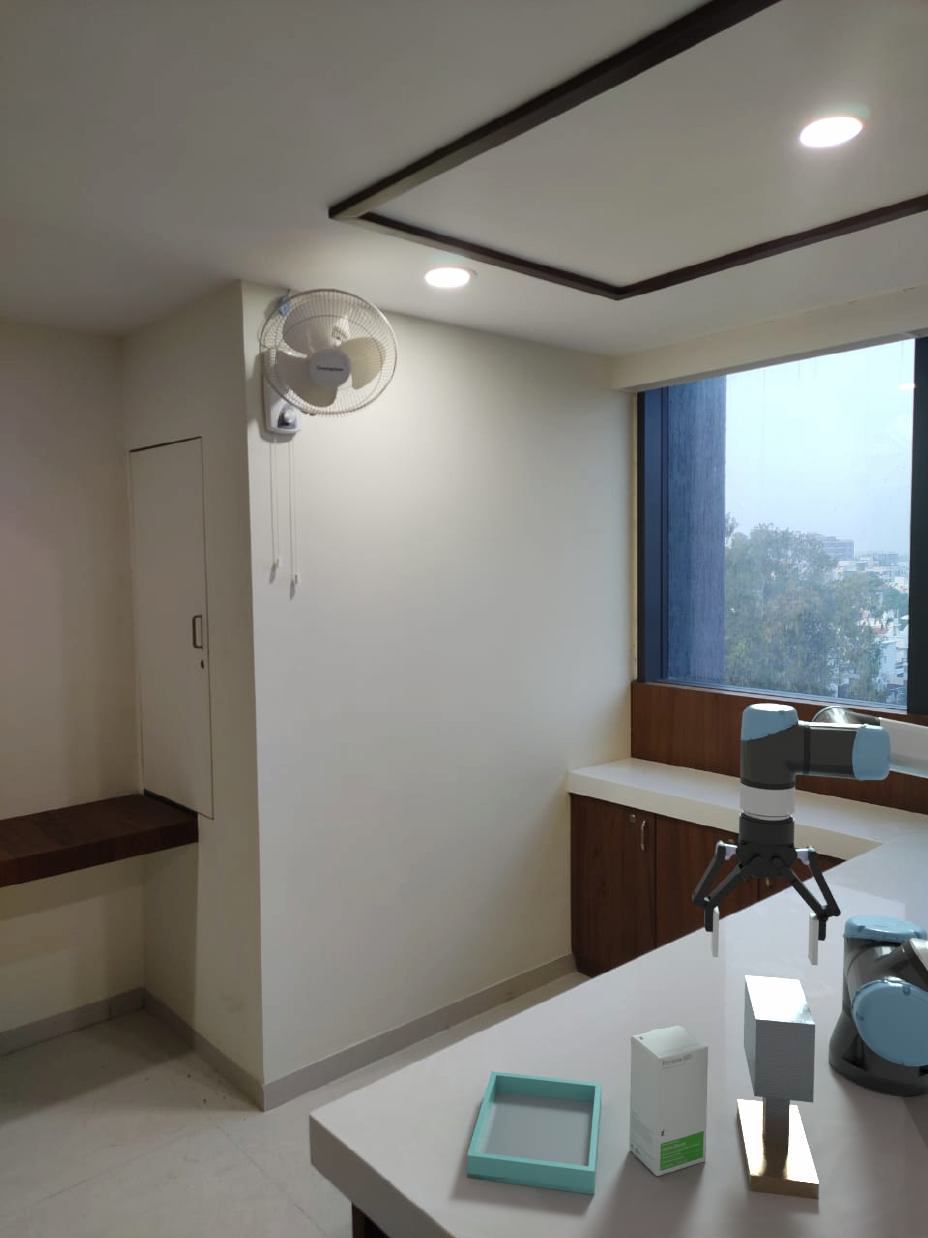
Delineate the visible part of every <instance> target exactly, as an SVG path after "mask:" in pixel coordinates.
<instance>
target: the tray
mask: <svg viewBox="0 0 928 1238" xmlns="http://www.w3.org/2000/svg"><path fill="white" fill-rule="evenodd" d="M601 1111H602V1083H601V1082H600V1083H599V1082H592V1081H583V1080H573V1079H564V1078H555V1077H554V1078H553V1077H546V1076H538V1075H527V1074H518V1073H510V1072H499V1071H491V1072H490V1076H489V1079H488V1083H487V1086H486V1089H485V1093H484V1097H483V1100H482V1103H481V1107H480V1111H479V1114H478V1116H477V1117H478V1118H477V1120H476V1123H475V1127H474V1131H473V1135H472V1138H471V1141H470V1144H469V1148H468V1151H467V1154H466V1174H467V1175H466V1176H467V1177H466V1178H467V1179H473V1180H474V1179H475V1180H481V1181H489V1182H498V1183H505V1184H512V1185H520V1186H526V1187H533V1188H540V1189H541V1188H542V1189H550V1190H555V1191H556V1190H557V1191H564V1192H571V1193H580V1194H586V1195H587V1194H588V1195H595V1190H596V1176H597V1166H598V1165H597V1164H598V1151H599V1150H598V1149H599V1138H600V1137H599V1136H600V1125H601V1114H602V1112H601Z"/></svg>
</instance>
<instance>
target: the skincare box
mask: <svg viewBox="0 0 928 1238" xmlns="http://www.w3.org/2000/svg"><path fill="white" fill-rule="evenodd" d="M630 1042H631V1043H630V1045H631V1049H630V1050H631V1051H630V1052H631V1053H630V1055H631V1056H630V1092H629V1093H630V1094H629V1095H630V1098H629V1100H630V1101H629V1102H630V1105H629V1106H630V1107H629V1140H628V1141H629V1143H628V1146H629V1150H630V1151H631V1152H632V1153H633V1154H634V1156H636V1157H637V1159H638V1160H639V1161H640V1162H642V1164H643V1165H645V1167H646V1168H648V1169H649V1170H650V1172H651V1173H652V1174H654V1176H656V1177H660V1176H664V1175H666V1174H670V1173H673V1172H676V1171H678V1170H682V1169H685V1168H688V1167H691V1166H694V1165H697V1164H701V1163H704V1162H706V1160H707V1114H708V1113H707V1109H708V1108H707V1106H708V1067H709V1066H708V1063H709V1062H708V1061H709V1058H708V1057H709V1056H708V1055H709V1053H708V1052H709V1045H707V1044H706V1043H705V1042H704V1041H703V1040H701V1039H699V1038H698V1037H696V1036H695V1035H693V1034H692V1033H690V1032H689V1031H687V1030H686V1029H685V1028H684V1027H683V1026H681V1025H675V1026H670V1027H666V1028H655V1029H652V1030H650V1031H648V1032H647V1031H646V1032H643V1033H638V1034H633V1035H631V1037H630Z"/></svg>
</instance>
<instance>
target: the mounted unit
mask: <svg viewBox="0 0 928 1238" xmlns="http://www.w3.org/2000/svg"><path fill="white" fill-rule="evenodd" d="M743 1014H744V1016H743V1021H744V1022H743V1048H744V1053H745V1057H746V1062H747V1066H748V1071H749V1076H750V1081H751V1086H752V1090H753V1091H752V1092H753V1096H754V1097H758V1098H762V1099H761V1100H762V1101H758V1100H747V1099H739V1098H738V1099H737V1102H736V1103H737V1105H736V1106H737V1107H736V1114H737V1120H738V1125H739V1132H740V1137H741V1143H742V1148H743V1155H744V1159H745V1167H746V1172H747V1173H746V1174H747V1177H748V1183H749V1189H750V1191H754V1192H761V1193H769V1194H775V1195H784V1196H792V1197H793V1196H794V1197H798V1198H799V1197H800V1198H808V1199H813V1200H814V1199H816V1200H819V1198H820V1197H819V1195H820V1191H819V1190H820V1189H819V1188H820V1184H819V1179H818V1176H817V1171H816V1168H815V1164H814V1161H813V1158H812V1154H811V1151H810V1147H809V1144H808V1141H807V1137H806V1133H805V1130H804V1125H803V1122H802V1120H801V1115H800V1113H799V1109H798V1106H797V1105H794V1104H791V1101H795V1102H805V1103H812V1104H813V1103H814V1093H815V1090H814V1089H815V1088H814V1087H815V1055H816V1054H815V1051H816V1050H815V1048H816V1047H815V1046H816V1023H815V1020H814V1018H813V1014H812V1012H811V1010H810V1007H809V1003H808V1001H807V999H806V997H805V993H804V990H803V988H802V985H801V982H800V979H791V978H781V977H780V978H779V977H767V976H756V975H744V1013H743Z"/></svg>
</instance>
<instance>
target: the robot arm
mask: <svg viewBox="0 0 928 1238" xmlns="http://www.w3.org/2000/svg"><path fill="white" fill-rule="evenodd" d="M741 718H742V719H741V729H740V731H741V732H740V733H741V734H740V782H739V783H740V785H739V786H740V788H739V808H740V810H741V812H740V813H739V814H738V815H739V816H738V822H739V823H738V841H737V843H736V845H735V844H727V843H725V842H724V841H723V840H717V842H715V843H716V844H715V849H714V855H713V857H712V859H711V860H710V862H709V864H708V866H707V868H706V869H705V870H704V873H703V875H702V876H701V878H700V880H699V881H698V883H697V885H696V887H695V889H694V891H693V892H692V895H691V898H692V905H693V906H695V907H699V908H702V909H703V910H704V911H703V913H704V914H703V916H704V917H703V925H704V930H705V932H706V933H711V945H710V946H711V947H710V948H711V953H712V957H713V958H718V957H719V940H720V939H719V938H720V937H719V932H720V931H719V928H720V911H719V907H718V906H719V905H720V904H721V903H722V902H723V901H724V900H725V899H726V898H727V897H728V896H729V895H730V894H731V893H732V892H733V891H734V890H735V889H736V888H737V887H738V886H739V885H740V884H741V883H742V882H743V881H745V880H746V879H747V878H748V877H749V876H752V877H754V879H763V878H768V879H771V880H778V879H780V878H781V877H784V879H786V881H787V882H788V883H789V884H790V886H791V887H793V889H794V890H795V891H796V893H797V894H798V895H799V896H800V897H801V899H803V901H804V902H805V903H806V905H808V906H809V908H810V909H811V910H812V912H809V920H808V922H809V923H808V924H809V927H808V959H809V961H810V964H811V966H818V964H819V963H818V961H819V959H818V958H819V956H818V955H819V941H822V942H823V941H825V940H826V937H827V922H828V921H829V918H831V917H840V916H841V914H842V912H841V911H842V910H841V909H840V907H839V904H838V903H837V901H836V899H835V897H834V895H833V893H832V891H831V888H830V887H829V884H828V883H827V881H826V879H825V877H824V875H823V872H822V870H821V868H820V866H819V857H818V853H817V851H816V849H815V848H814V846H812V845H807V846H806V847H805V848H796V847H795V817H794V816H793V814H795V812H796V776H797V775H800V776H801V775H802V776H813V777H825V778H837V779H847V780H848V779H849V780H857V781H861V782H862V781H874V780H875V781H882V780H885V779H886V778H887V777H888V776H889V773H890V771H891V772H892V771H893V772H896V773H902V774H905V775H911V776H915V777H919V778H926V779H928V726H926V725H925V726H924V725H919V724H915V723H911V722H905V721H899V720H897V719H895V720H894V719H889V718H884V717H881V716H880V717H877V716H874V715H870V714H865V713H864V714H863V713H858V712H854V711H853V710H851V709H849V708H848V707H845V706H840V705H830V706H827V707H824V708H822V709H821V710H819V711H818V712H817V713H816V714H815V715H814V717H813V718H812V721H811V722H810V721H804V720H799V716H798V711H797V709H796V708H794V707H793V706H790V705H784V704H778V703H756V704H751V705H748V706H747V707H745V709H744V710H743V712H742V717H741ZM733 855H735V856H736V857H737V858H738V861H739V862H738V863H737V864H736V865H735V866H734V869H732V871H731V872H730V873H728V875H727V876H725V878H723V880H722V881H721V882H720V883H719V884H718V885H717V886H716V887H715V888H714V889H713V890H712V891H711V892H710V893H709V894H708V892H709V891H710V889H711V888H712V885H713V884H714V882H715V880H716V879H717V877H718V875H719V873H720V872H721V870H722V868H723V867H724V863H725V861H729V860H730V858H731V856H733ZM797 859H800V860H801V862H802V863H803V864H804V865H805V866H808V868H809V870H810V872H811V875H812V877H813V879H814V880H815V882H816V884H817V886H818V889H819V891H820V893H821V894H822V895H821V896H822V897H823V898H824V901H825V902H826V904H825V905H822V904H821V903H820V902H819V900H817V898H816V897H815V896H814V895H813V893H812V892H811V891H810V890H809V889H808V887H807V886H806V884H804V883H803V881H802V880H801V879H800V878H799V876H798V875H797V874H796V873H795V872H794V870H793V869H792V868H791V867H792V865H793V864H794V863H795V862H796V860H797ZM707 894H708V896H707ZM813 912H814V913H813ZM842 938H843V962H842V966H843V967H842V994H841V995H842V997H841V998H842V1002H841V1003H842V1004H841V1012H840V1015H839V1016H838V1019H837V1021H836V1024H835V1026H834V1029H833V1031H832V1034H831V1037H830V1038H829V1043H828V1060H829V1063H830V1065H831V1066H832V1067H833V1070H835V1071H836V1072H837V1073H838V1074H839V1075H840V1076H842V1077H843V1078H845V1079H846V1080H848V1081H849V1082H851V1083H853V1084H855V1085H858V1086H859V1087H861V1088H865V1089H867V1090H870V1091H874V1092H876V1093H877V1092H878V1093H881V1094H885V1095H892V1096H917V1095H923V1094H925V1093H927V1092H928V932H927V931H926V929H925V928H924V927H922V925H921V926H920V925H918V924H917V923H914V922H912V921H909V920H906V919H901V918H898V917H897V918H896V917H892V916H887V915H885V916H884V915H874V914H862V915H861V914H860V915H854V916H852V917H849V918H847V919H846V921H845V922H844V931H843V934H842Z"/></svg>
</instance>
